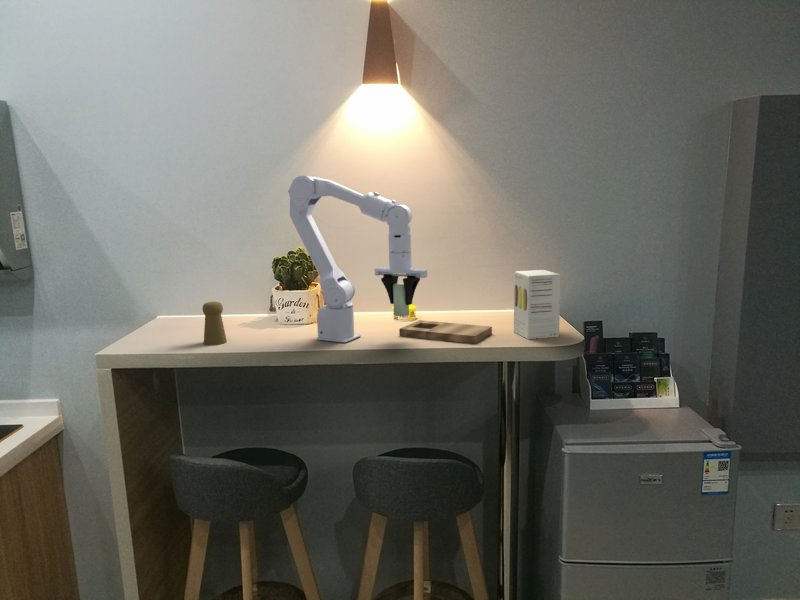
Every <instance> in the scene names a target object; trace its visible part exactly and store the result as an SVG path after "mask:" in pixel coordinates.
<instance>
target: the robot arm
mask: <svg viewBox="0 0 800 600" xmlns="http://www.w3.org/2000/svg"><path fill="white" fill-rule="evenodd" d="M287 193H288V195H289V217H290V219H291V221H292V224H293V225H294V227H295V229H296V232H297V233H298V235H299V237H300V240H301V241H302V243H303V245H304V247H305V250H306V251H307V253H308V255H309V257H310V259H311V261H312V262H313V264H314V267H315V269H316V271H317V273H318V275H319V278H320V279H319V286H320V288H321V291H322V299H323V301H324V303H325V304H323V305H321V306H320V307H319V308H318V310H317V314H316V320H317V321H316V323H317V326H316V327H317V337H316V338H315V340H316V341H317V340H320V341H327V342H335V343H342V344H343V343H348V342H351V341H353V340H356V339H359V338H361V336H362V335H361V334H357V333H355V319H354V317H355V316H354V303H353V301H352V299H353V298H354V296H355V293H356V288H355V285H354V284H353V282H351V281H350V280H349V279H348V278H347V277H346V275H345V273H344V272H343V271H342V270H341V269H340V268H339V267H338V266H337V263H336V261H335V259H334V257H333V255H332V253H331V252H330V249H329V247H328V245H327V242H326V241H325V239H324V237H323V235H322V233H321V231H320V229H319V228H318V225H317V224H316V221H315V219H314V217H313V216H312V215H313V212H314V209H315V207H316V204H317V203H318V202H319V200H321V198H322V197H333V198H336V199H338V200H340V201H343V202H346V203H349V204H352V205H355V206H357V207H358V208H359V210H360V213H361V214H363V215H366V216H368V217H371V218H372V219H375V220H377V221H380V222H383V223H385V222H386V224H387V225H388V259H389V260H388V263H389V264H388V266H387V267H384V266H383V267H380V266H379V267H378V266H377V267H375V268H374V276H377V277H378V276H382V277H381V278H380V279H381V282H382V284H383V286H384V288H385V290H386V293H387V294H388V295H387V296H388V299H389V302H390V305H394V302H393V284H396V283H399V282H398V280H399V277H404V278H402V283H404V287H405V302H406V305H409V306H410V305H412V304H413V298H414V295H415V292H416V288H417V286H418V285H419V282H420V281H421V279H425V278H426V279H427V278H428V269H422V268H414V267H412V234H411V224H410V223H411V221H412V219H413V214H412V210H411V209H410V208H409V206H407V205H405V204H404V203H398V204H397V200H395V199H392V200H390V199H387V198H385V197H383V196H380V193H379V192H377V191H374V192H371V191H369V192H367V193H365V194H362V193H360V192H357V191H356V190H353V189H351V188H348V187H346V186H345V185H342V184H340V183H338V182H336V181H333V180H331V179H328V178H320V177H319V176H318V175H317V176H315V175H310V176H307V175H298V176H297V177H295V178H294V179H293V180H292V181H291V184H290V186H289V188H288V190H287Z"/></svg>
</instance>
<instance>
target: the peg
mask: <svg viewBox="0 0 800 600" xmlns="http://www.w3.org/2000/svg"><path fill="white" fill-rule="evenodd" d="M393 302H394V304H393V316H395V317H407V316H409V315H410V307H409V306H410V305H406V302H405V287H404V283H403V282H397V283H396V284H393Z"/></svg>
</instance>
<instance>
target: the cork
mask: <svg viewBox="0 0 800 600" xmlns="http://www.w3.org/2000/svg"><path fill="white" fill-rule="evenodd" d="M223 311H224V308H223V304H222V303H221V302H220V301H208V302H205V303H204V304H203V305H202V314H203V315H204V332H203V345H205V346H219V345H224V344H226V343H227V336H226V332H225V331H226V330H225V326H224V322H223V317H222V314H223Z"/></svg>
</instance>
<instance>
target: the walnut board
mask: <svg viewBox="0 0 800 600" xmlns="http://www.w3.org/2000/svg"><path fill="white" fill-rule="evenodd" d="M398 331H399V337H407V338H417V339H426V340H436V341H444V342H456V343H464V344H472V345H473V344H477V343H479V342H480V341H482V340H484V339H486V338H487V337H489V336H491V335H492V334H493V326H491V325H490V326H488V325H479V324H477V325H476V324H467V323H465V324H464V323H457V322H456V323H455V322H446V321H445V322H443V321H435V320H433V321H432V320H422V319H419V320H416V321H414V322H412V323H410V324H407V325H405V326H402V327H400V328H399V330H398Z"/></svg>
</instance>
